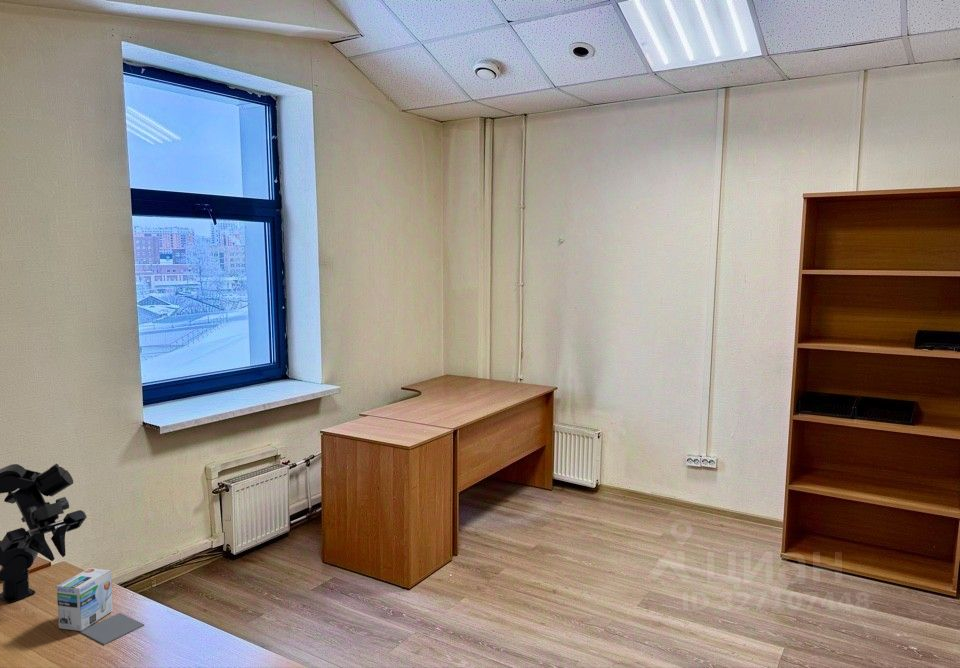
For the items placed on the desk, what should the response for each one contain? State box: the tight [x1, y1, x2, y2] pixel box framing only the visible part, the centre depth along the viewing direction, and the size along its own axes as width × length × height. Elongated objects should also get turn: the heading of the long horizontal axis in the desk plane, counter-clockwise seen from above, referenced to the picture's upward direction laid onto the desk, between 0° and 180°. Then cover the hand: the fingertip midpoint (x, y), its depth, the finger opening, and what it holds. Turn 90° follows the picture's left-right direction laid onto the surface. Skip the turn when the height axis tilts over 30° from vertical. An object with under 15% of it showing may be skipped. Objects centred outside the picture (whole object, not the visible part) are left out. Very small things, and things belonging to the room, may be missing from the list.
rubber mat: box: [79, 612, 145, 646], centre depth 162 cm, size 10×10×1 cm
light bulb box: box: [56, 567, 114, 632], centre depth 165 cm, size 11×7×11 cm, turn 168°
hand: (58, 558), depth 170 cm, fingers open, 2 cm apart
